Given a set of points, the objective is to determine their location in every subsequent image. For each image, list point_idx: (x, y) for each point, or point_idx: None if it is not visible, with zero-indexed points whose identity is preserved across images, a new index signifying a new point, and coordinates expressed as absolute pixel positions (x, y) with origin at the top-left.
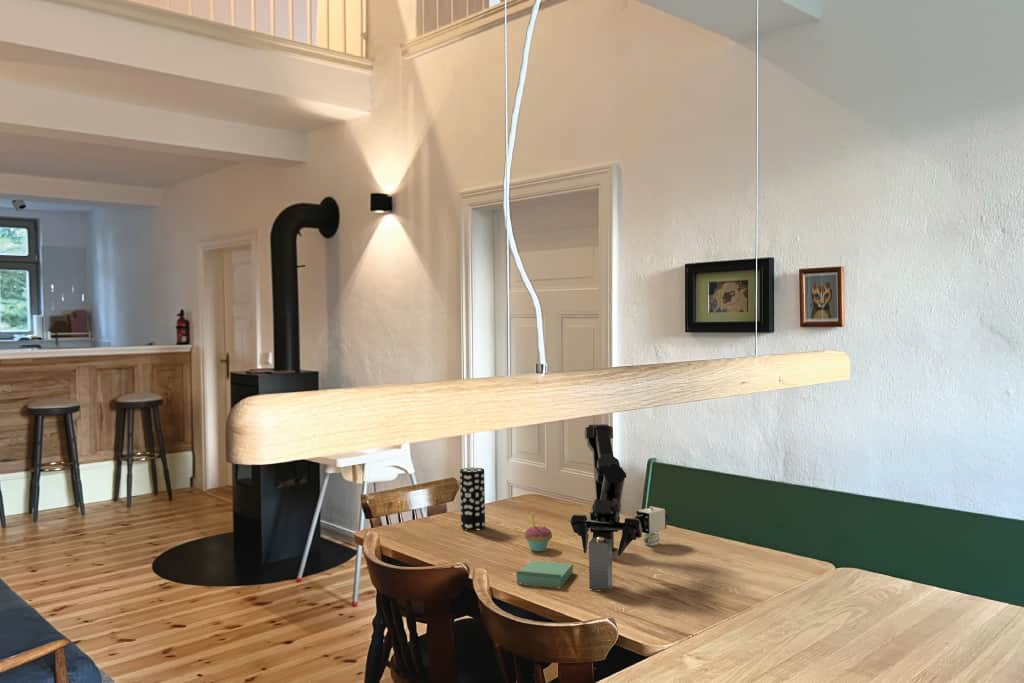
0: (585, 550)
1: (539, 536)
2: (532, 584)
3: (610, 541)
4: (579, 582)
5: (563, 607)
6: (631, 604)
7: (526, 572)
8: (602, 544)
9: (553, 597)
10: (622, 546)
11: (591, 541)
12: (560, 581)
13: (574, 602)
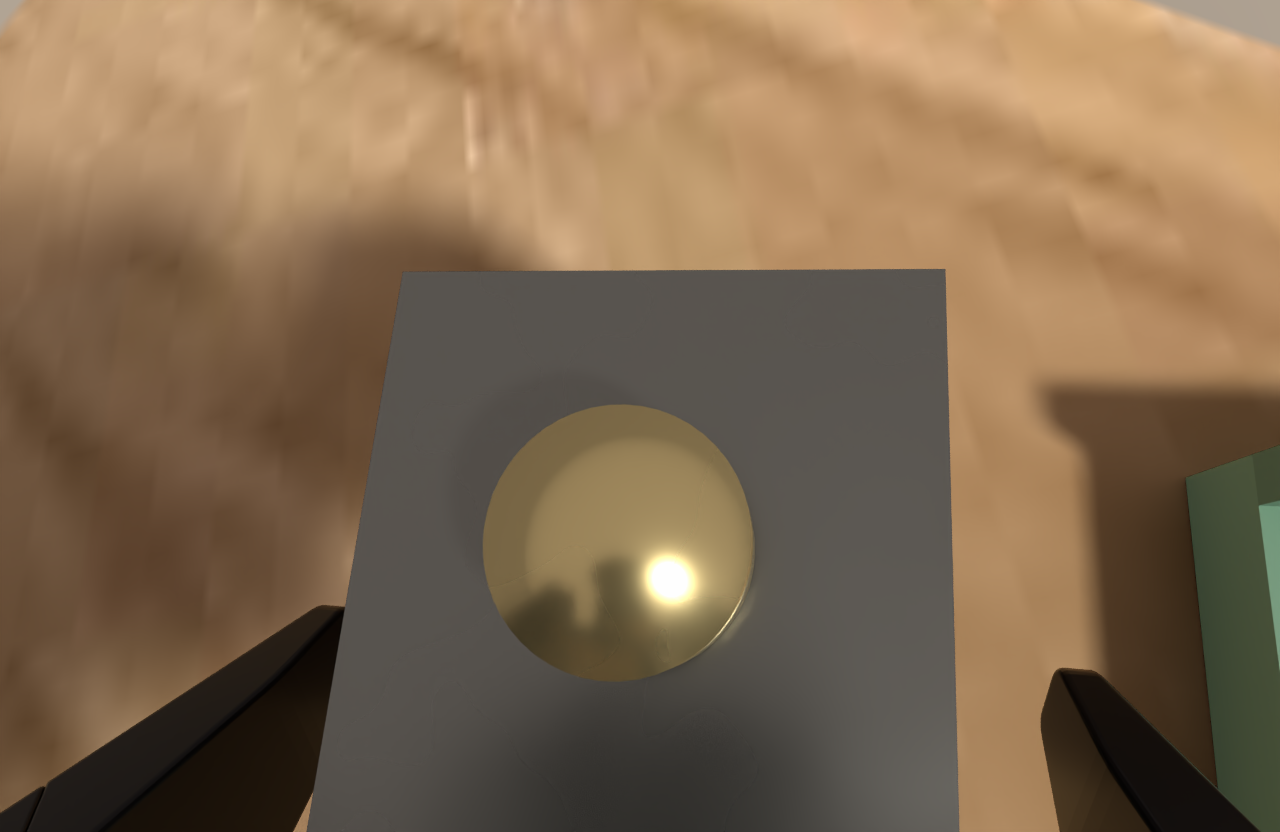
0: (1063, 697)
1: None
2: None
3: (356, 642)
4: (1022, 745)
5: (959, 20)
6: (412, 245)
7: None
8: (543, 284)
9: (1147, 206)
10: (163, 710)
11: (890, 396)
12: (1230, 486)
13: (896, 149)
